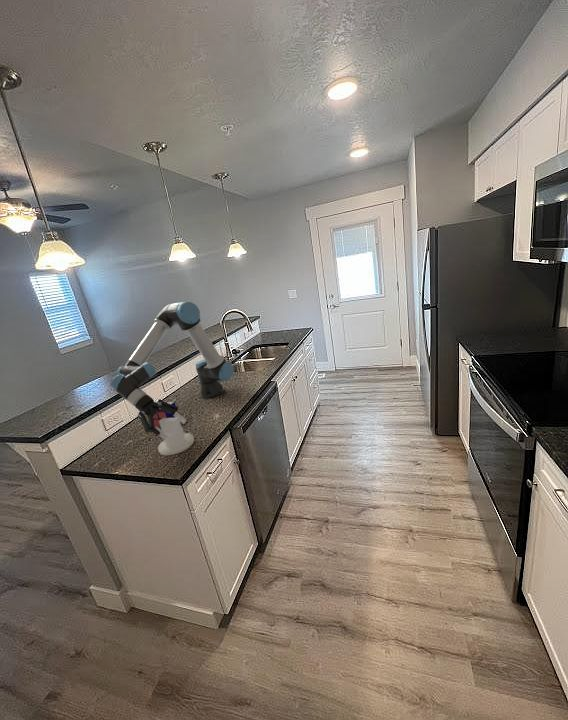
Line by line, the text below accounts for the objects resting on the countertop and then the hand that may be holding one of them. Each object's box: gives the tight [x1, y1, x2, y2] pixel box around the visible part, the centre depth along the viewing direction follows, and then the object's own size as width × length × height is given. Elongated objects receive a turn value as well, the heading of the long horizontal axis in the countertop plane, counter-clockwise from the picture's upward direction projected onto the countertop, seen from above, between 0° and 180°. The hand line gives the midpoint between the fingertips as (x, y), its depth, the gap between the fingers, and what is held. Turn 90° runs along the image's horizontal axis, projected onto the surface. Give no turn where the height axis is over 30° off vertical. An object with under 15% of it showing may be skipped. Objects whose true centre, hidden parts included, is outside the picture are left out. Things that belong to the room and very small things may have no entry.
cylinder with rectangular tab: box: [159, 417, 186, 448], centre depth 138 cm, size 9×9×12 cm
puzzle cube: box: [153, 401, 177, 428], centre depth 165 cm, size 10×10×10 cm
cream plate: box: [157, 432, 195, 457], centre depth 140 cm, size 16×16×2 cm
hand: (176, 429), depth 137 cm, fingers open, 13 cm apart
